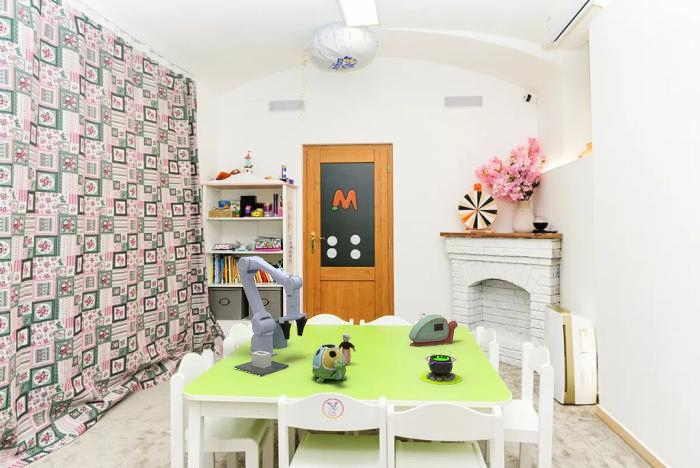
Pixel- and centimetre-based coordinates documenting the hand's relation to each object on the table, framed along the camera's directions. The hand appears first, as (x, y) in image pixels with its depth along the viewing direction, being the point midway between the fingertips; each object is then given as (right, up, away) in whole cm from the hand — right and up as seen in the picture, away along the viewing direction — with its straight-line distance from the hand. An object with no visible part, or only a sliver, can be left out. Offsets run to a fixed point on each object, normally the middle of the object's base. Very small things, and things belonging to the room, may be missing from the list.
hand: (293, 337), depth 194 cm
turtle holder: (+17, -10, -26) cm, 32 cm away
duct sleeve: (-11, -9, -11) cm, 18 cm away
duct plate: (-11, -10, -11) cm, 19 cm away
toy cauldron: (+57, -9, -25) cm, 63 cm away
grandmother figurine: (+22, -10, -7) cm, 25 cm away
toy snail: (+64, -9, +26) cm, 69 cm away
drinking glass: (-10, -10, +23) cm, 27 cm away
